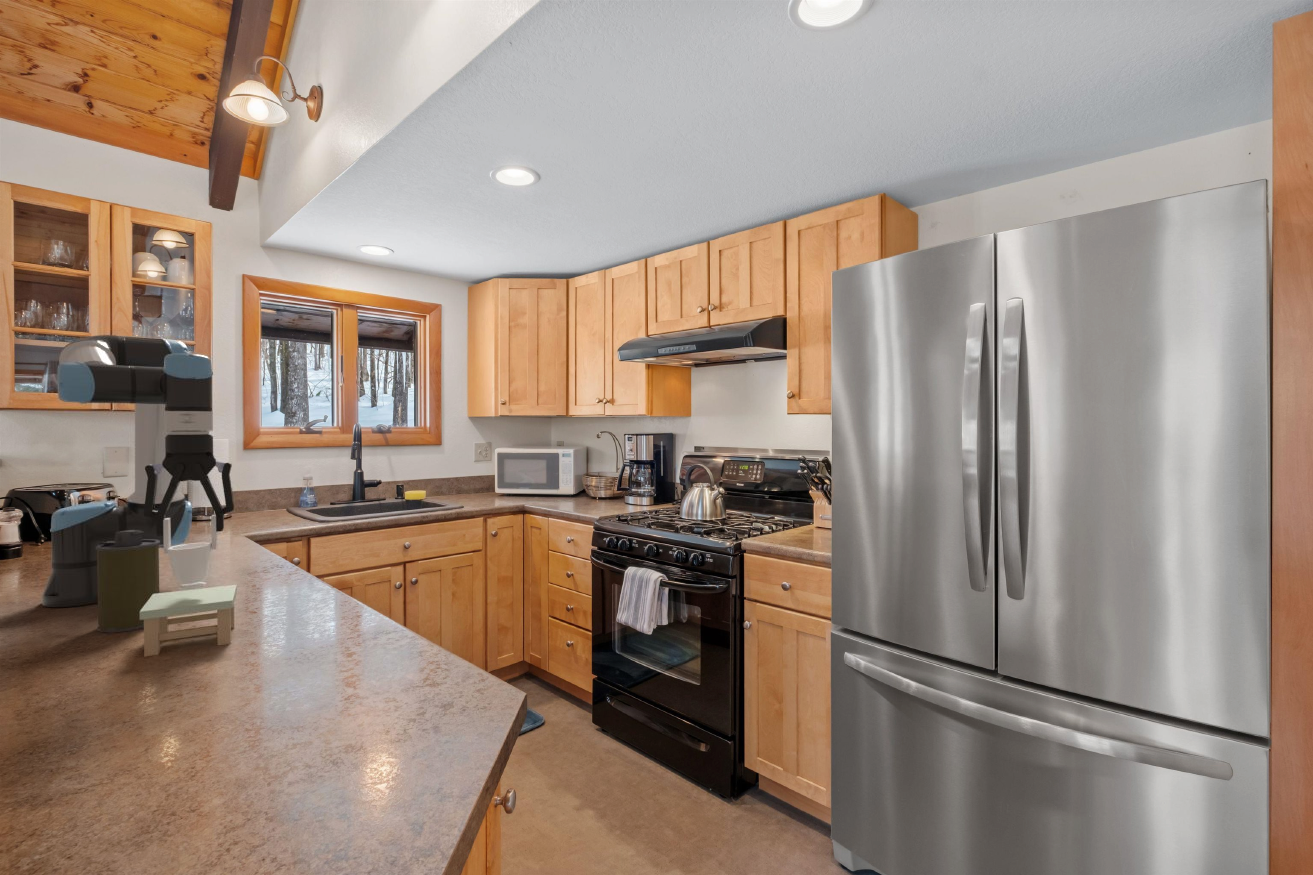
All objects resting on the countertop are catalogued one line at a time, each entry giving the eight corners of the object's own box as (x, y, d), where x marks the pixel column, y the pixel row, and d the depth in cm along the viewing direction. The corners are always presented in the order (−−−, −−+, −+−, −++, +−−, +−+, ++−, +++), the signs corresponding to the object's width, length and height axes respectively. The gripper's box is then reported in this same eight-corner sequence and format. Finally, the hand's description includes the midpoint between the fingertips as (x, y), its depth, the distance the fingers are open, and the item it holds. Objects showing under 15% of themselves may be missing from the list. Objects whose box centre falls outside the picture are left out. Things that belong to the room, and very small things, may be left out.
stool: (153, 635, 125) (153, 593, 125) (237, 624, 132) (237, 584, 132) (140, 657, 113) (139, 611, 113) (233, 643, 120) (232, 600, 120)
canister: (173, 617, 137) (172, 527, 136) (129, 633, 126) (127, 535, 126) (128, 616, 138) (127, 526, 138) (81, 632, 128) (79, 535, 127)
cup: (171, 593, 116) (168, 551, 116) (166, 584, 124) (164, 544, 124) (216, 586, 121) (214, 545, 121) (209, 577, 128) (207, 538, 128)
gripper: (119, 434, 114) (122, 559, 114) (248, 433, 124) (250, 548, 124) (128, 433, 120) (130, 552, 120) (250, 432, 130) (251, 542, 131)
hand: (191, 549), depth 122 cm, fingers closed on cup, 7 cm apart
